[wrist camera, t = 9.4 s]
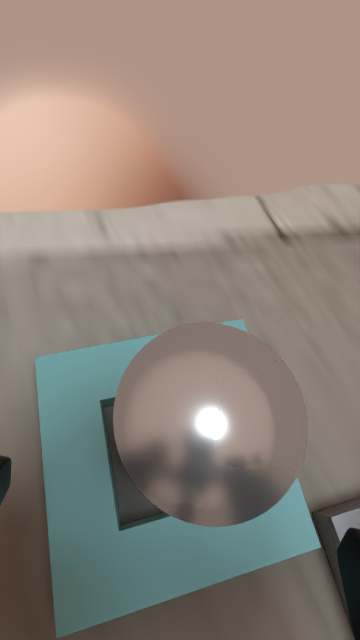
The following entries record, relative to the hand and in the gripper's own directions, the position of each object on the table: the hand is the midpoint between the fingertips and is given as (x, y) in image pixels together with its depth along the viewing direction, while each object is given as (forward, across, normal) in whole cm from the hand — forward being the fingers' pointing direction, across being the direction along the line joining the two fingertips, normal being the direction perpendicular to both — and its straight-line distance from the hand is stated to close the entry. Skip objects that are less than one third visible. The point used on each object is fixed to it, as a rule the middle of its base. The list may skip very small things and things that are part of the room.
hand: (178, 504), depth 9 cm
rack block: (+8, 0, +6) cm, 10 cm away
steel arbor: (+8, 0, +6) cm, 10 cm away
